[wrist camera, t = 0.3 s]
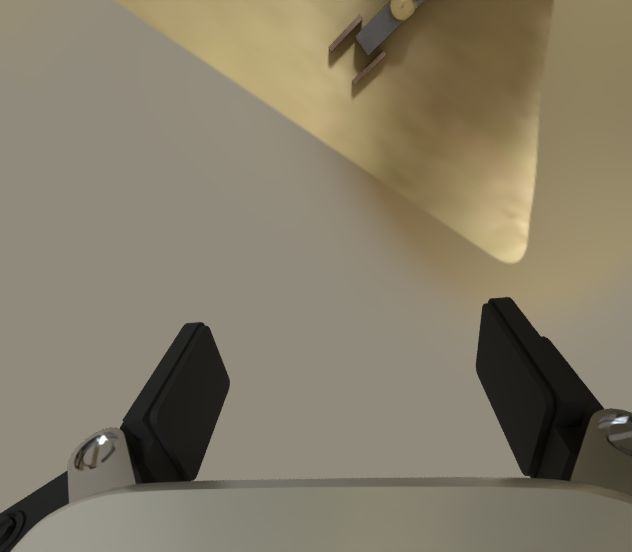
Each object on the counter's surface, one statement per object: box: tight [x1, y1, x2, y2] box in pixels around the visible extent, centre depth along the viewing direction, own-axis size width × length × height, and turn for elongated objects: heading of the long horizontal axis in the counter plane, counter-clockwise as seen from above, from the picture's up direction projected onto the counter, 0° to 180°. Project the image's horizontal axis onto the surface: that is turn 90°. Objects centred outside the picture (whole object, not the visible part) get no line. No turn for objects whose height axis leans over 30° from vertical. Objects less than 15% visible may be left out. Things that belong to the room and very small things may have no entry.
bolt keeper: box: [328, 15, 386, 84], centre depth 30 cm, size 4×4×1 cm
